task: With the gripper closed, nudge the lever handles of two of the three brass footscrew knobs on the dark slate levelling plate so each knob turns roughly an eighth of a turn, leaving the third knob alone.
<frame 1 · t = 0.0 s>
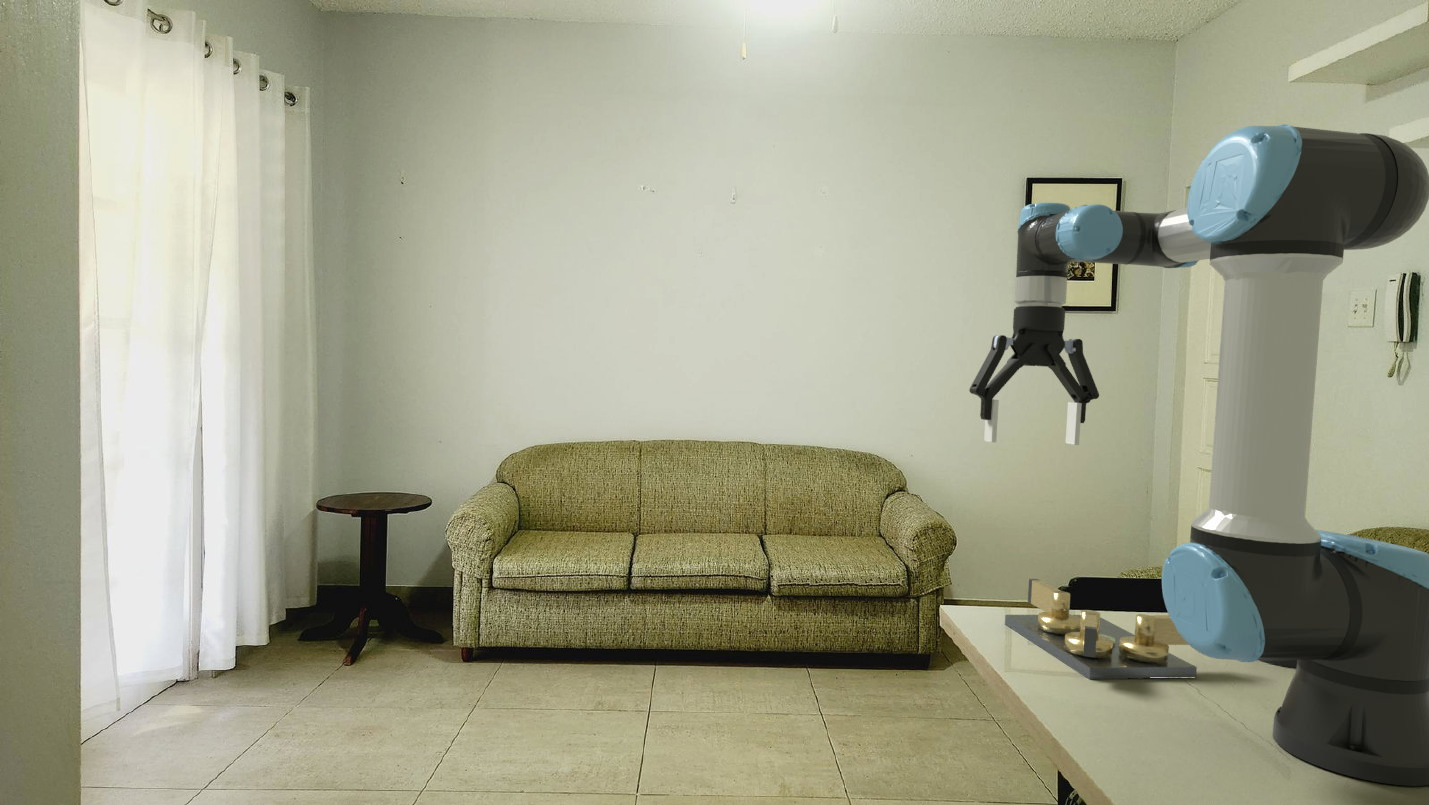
hand: (1031, 443, 143), 28 cm above the table, fingers open, 13 cm apart
brass knob c: (1050, 605, 137), point 4 cm above the table, hinge at 0.0°
brass knob b: (1089, 636, 122), point 4 cm above the table, hinge at 0.0°
levelling plate: (1092, 649, 131), on the table
coffee cup: (1279, 661, 130), on the table
brass knob a: (1163, 635, 124), point 4 cm above the table, hinge at 0.0°
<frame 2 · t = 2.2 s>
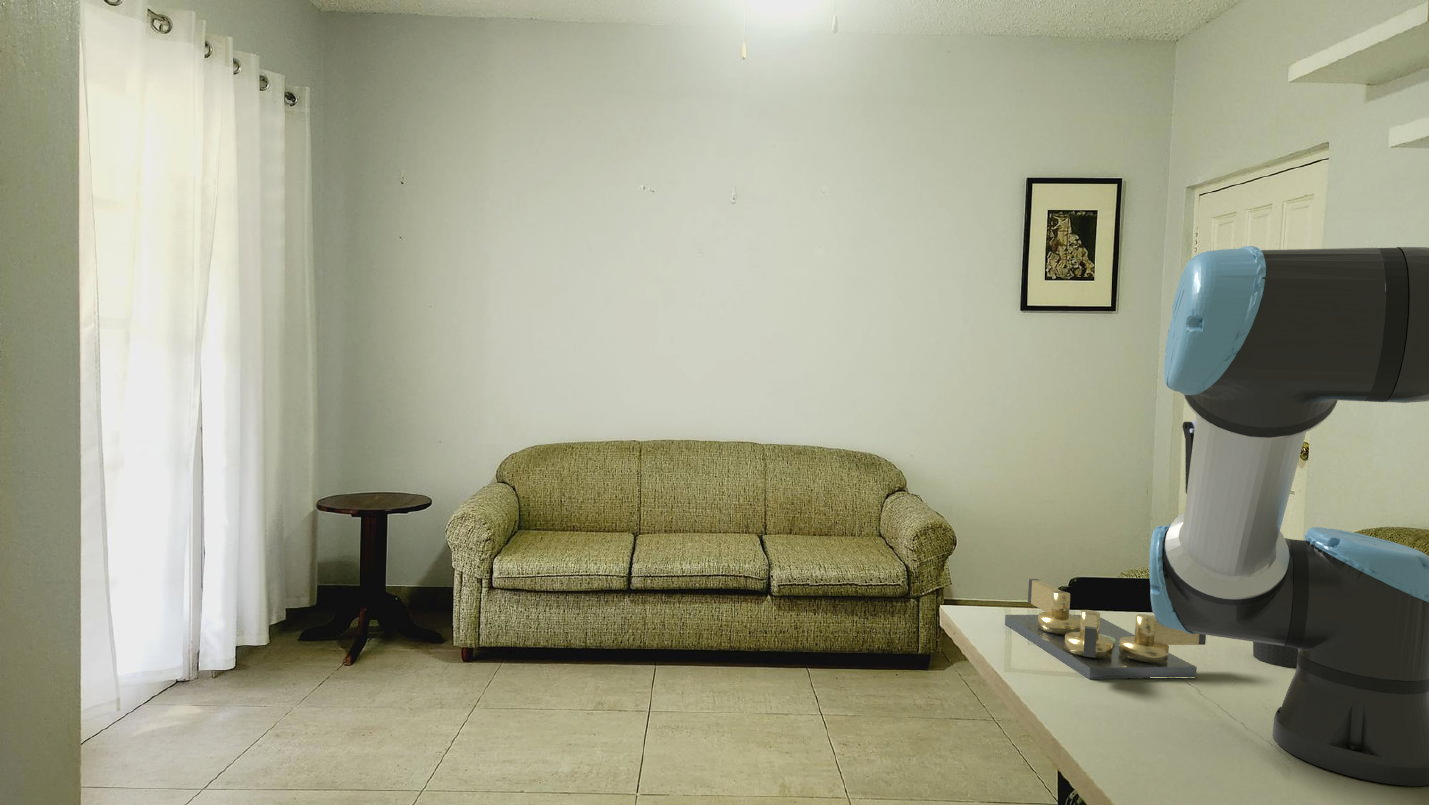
hand: (1215, 557, 118), 17 cm above the table, fingers open, 3 cm apart
nothing on the table moved.
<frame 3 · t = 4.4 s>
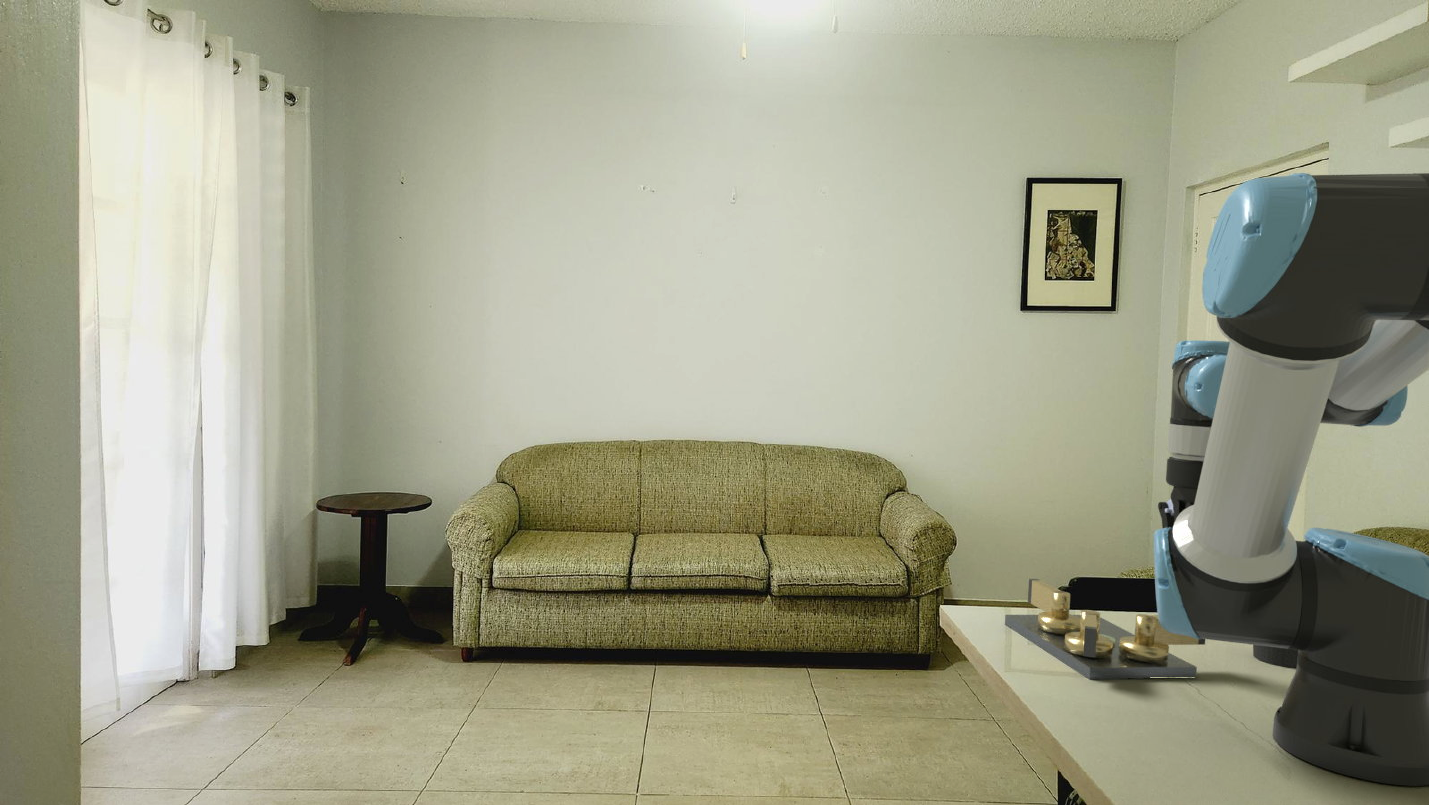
hand: (1187, 632, 123), 5 cm above the table, fingers closed
brass knob a: (1163, 635, 124), point 4 cm above the table, hinge at 0.6°, touching gripper
everything else where it was.
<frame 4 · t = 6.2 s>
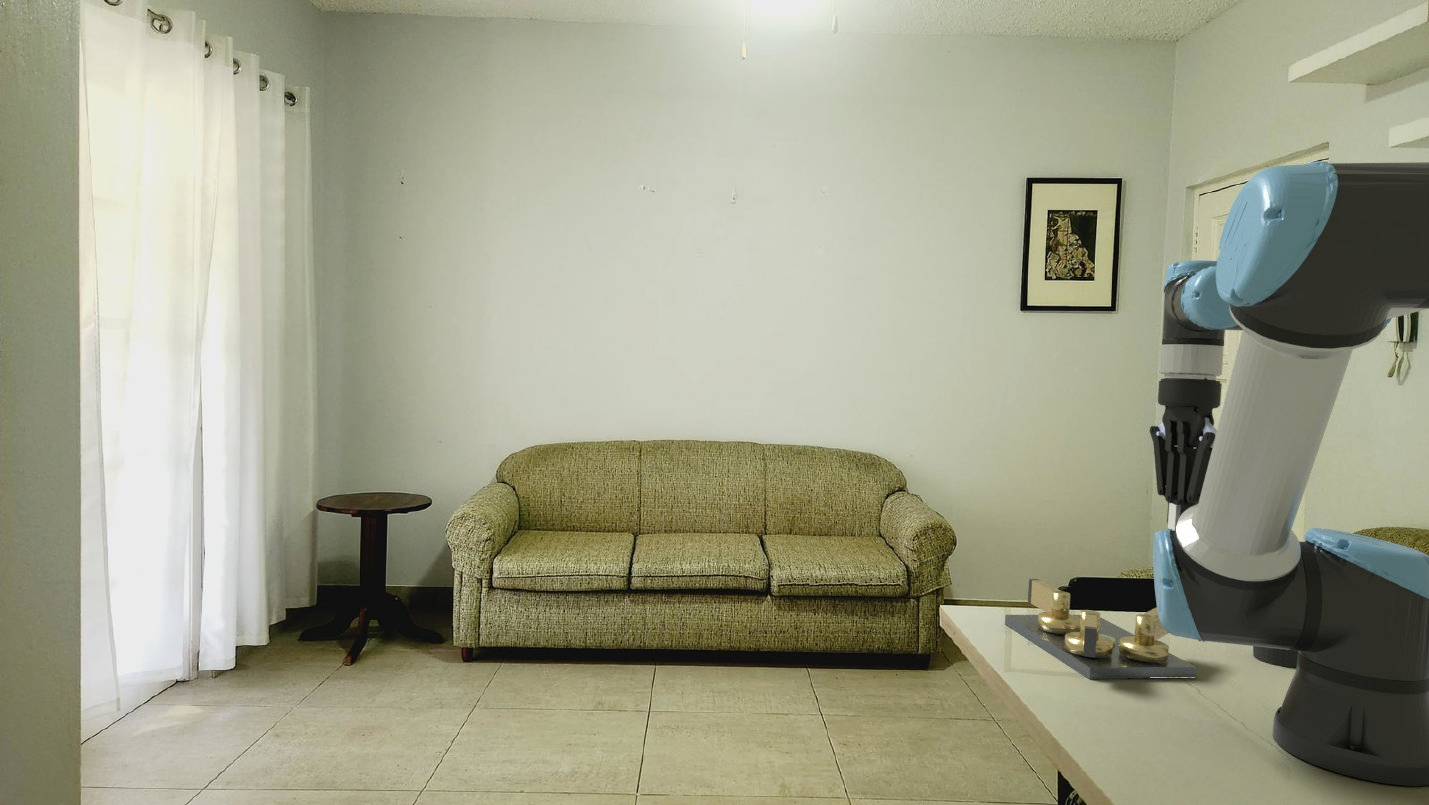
hand: (1178, 551, 125), 16 cm above the table, fingers closed
brass knob a: (1151, 632, 126), point 4 cm above the table, hinge at 39.0°
everything else where it was.
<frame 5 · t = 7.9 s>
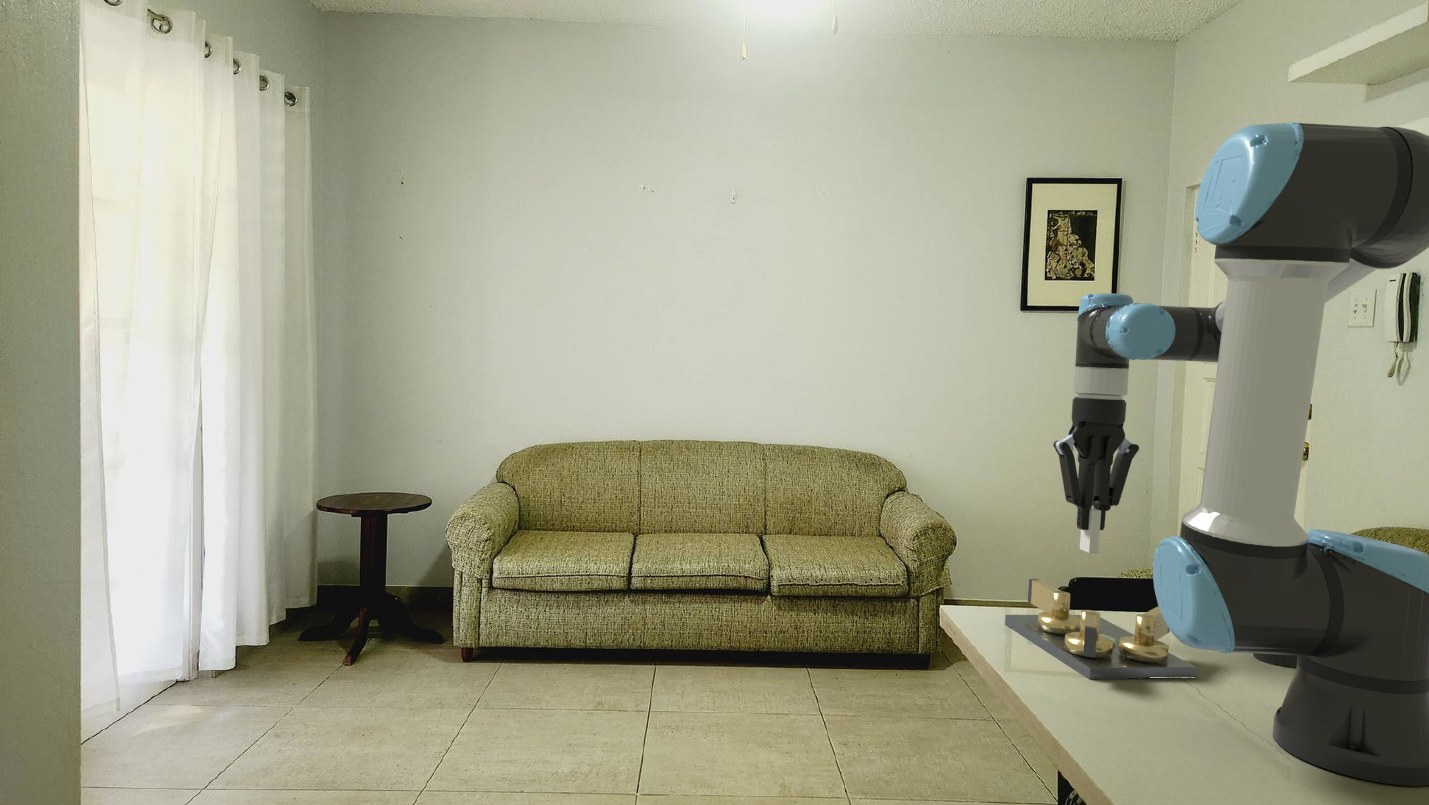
hand: (1088, 550, 141), 12 cm above the table, fingers closed
nothing on the table moved.
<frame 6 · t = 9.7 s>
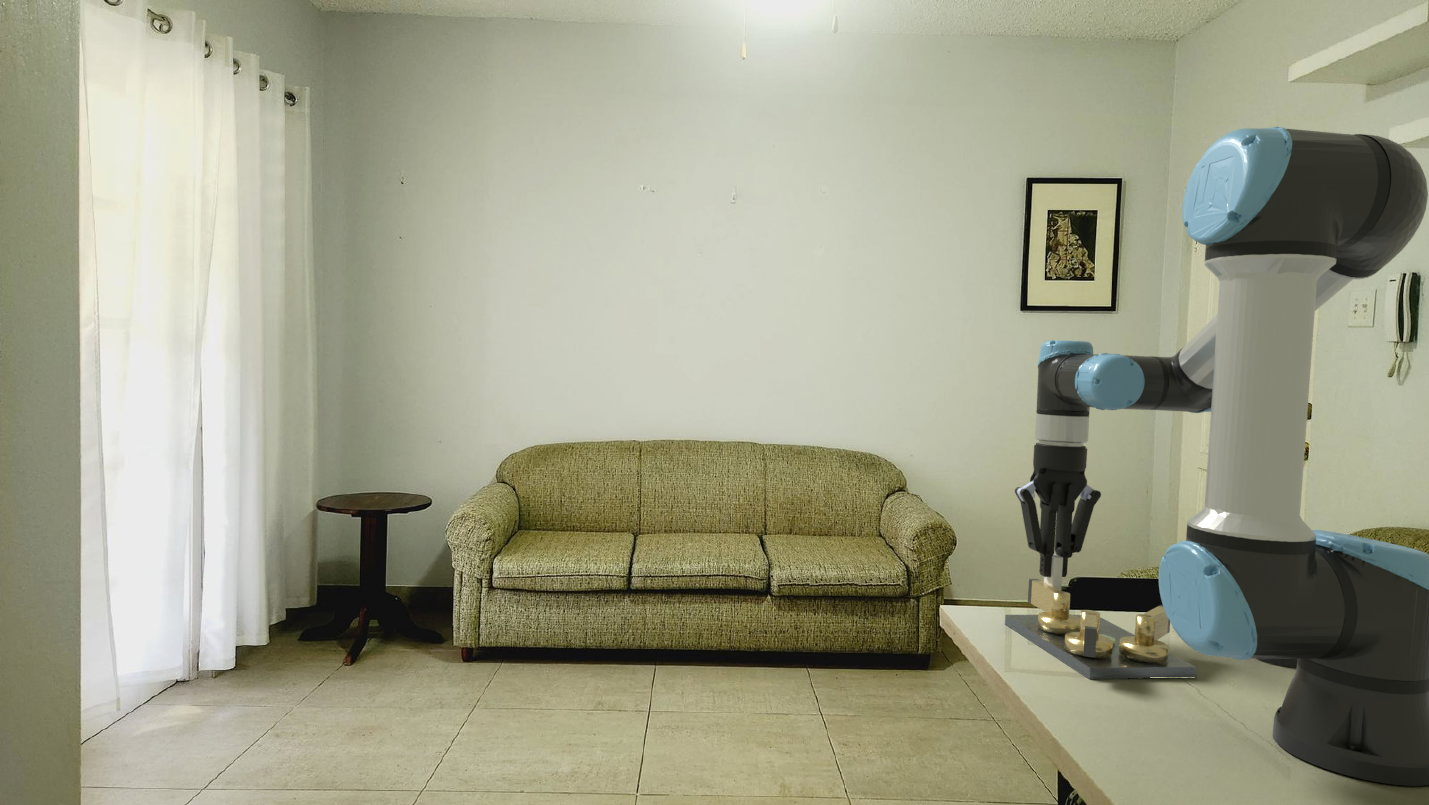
hand: (1051, 597, 140), 5 cm above the table, fingers closed
brass knob c: (1050, 605, 137), point 4 cm above the table, hinge at 0.0°, touching gripper
everything else where it was.
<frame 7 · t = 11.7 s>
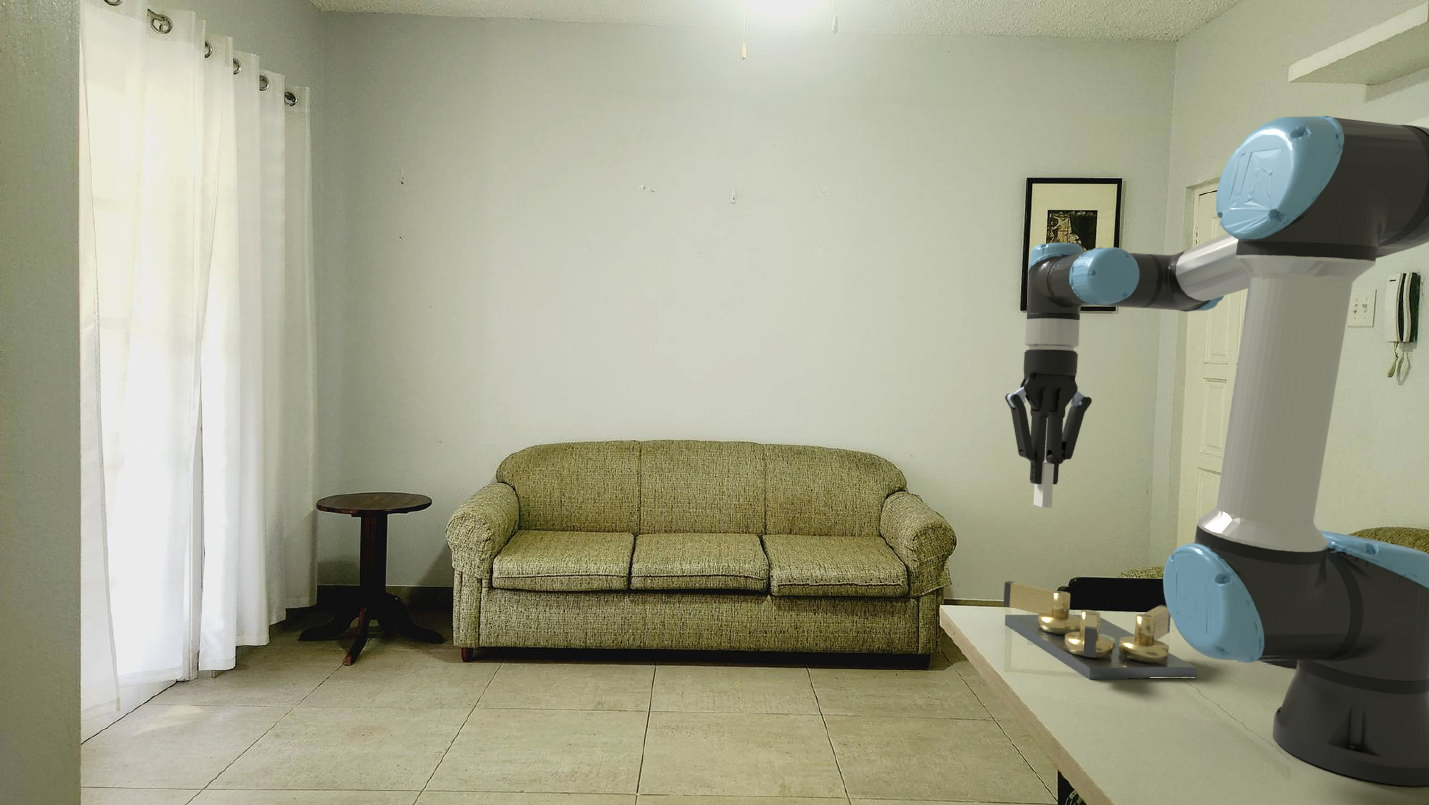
hand: (1042, 505, 138), 19 cm above the table, fingers closed
brass knob c: (1042, 606, 136), point 4 cm above the table, hinge at 37.8°
everything else where it was.
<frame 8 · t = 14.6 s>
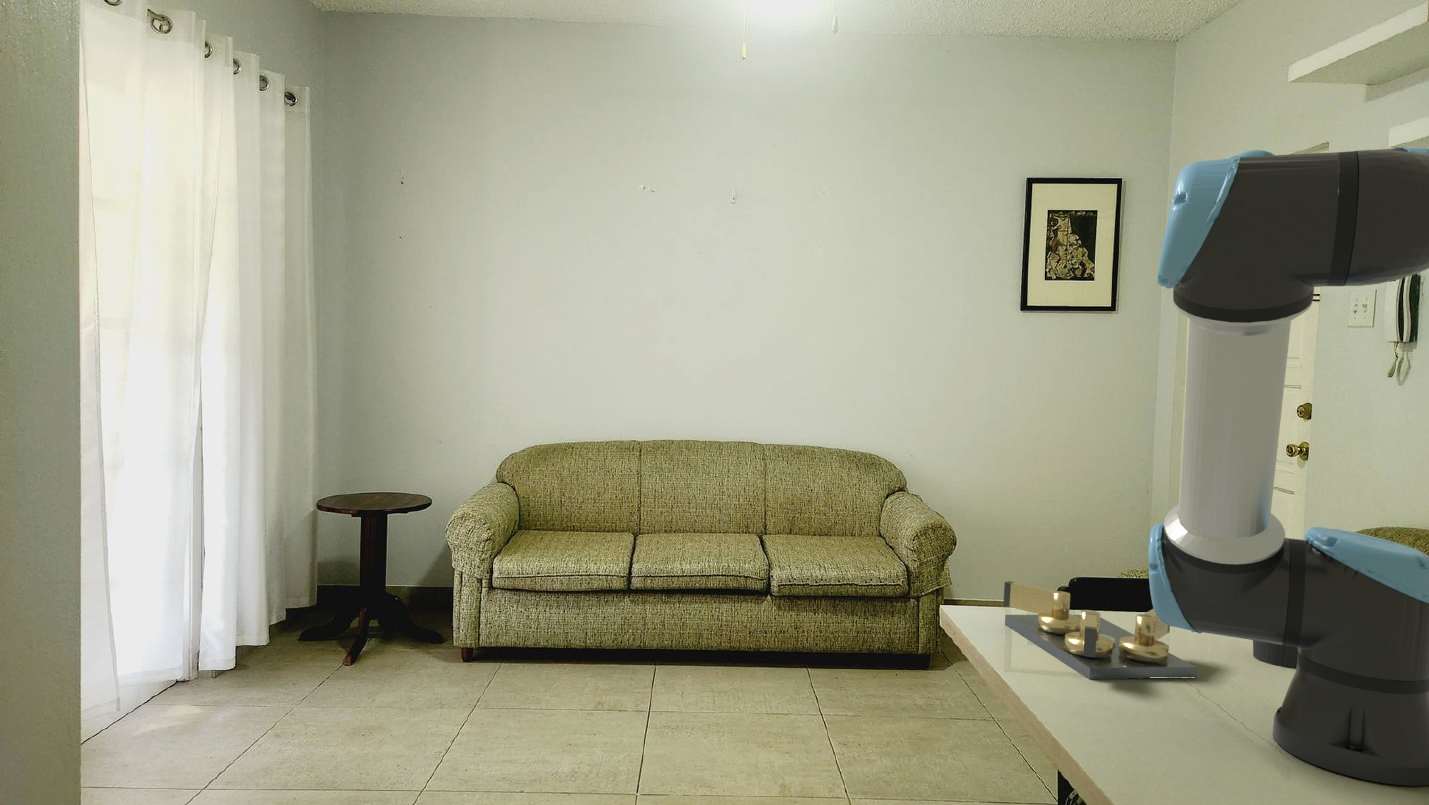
hand: (1230, 443, 127), 30 cm above the table, fingers closed
nothing on the table moved.
at the end: brass knob a at +39° (first picture: +0°); brass knob c at +38° (first picture: +0°); brass knob b at +0° (first picture: +0°) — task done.
